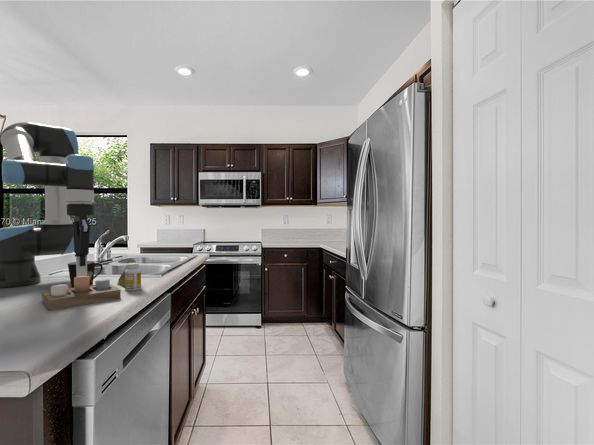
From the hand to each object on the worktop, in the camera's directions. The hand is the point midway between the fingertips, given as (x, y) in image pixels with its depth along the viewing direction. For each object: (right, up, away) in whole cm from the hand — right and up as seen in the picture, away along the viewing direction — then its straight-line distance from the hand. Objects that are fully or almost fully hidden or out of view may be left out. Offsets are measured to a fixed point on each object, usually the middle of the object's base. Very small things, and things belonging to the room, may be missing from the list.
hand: (81, 275), depth 106 cm
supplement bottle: (+9, -8, +15) cm, 19 cm away
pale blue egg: (+4, -7, +5) cm, 10 cm away
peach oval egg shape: (0, -6, 0) cm, 6 cm away
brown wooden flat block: (0, -8, 0) cm, 8 cm away
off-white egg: (-4, -8, -4) cm, 10 cm away
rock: (+4, -8, +22) cm, 23 cm away
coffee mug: (-9, -8, +16) cm, 20 cm away
